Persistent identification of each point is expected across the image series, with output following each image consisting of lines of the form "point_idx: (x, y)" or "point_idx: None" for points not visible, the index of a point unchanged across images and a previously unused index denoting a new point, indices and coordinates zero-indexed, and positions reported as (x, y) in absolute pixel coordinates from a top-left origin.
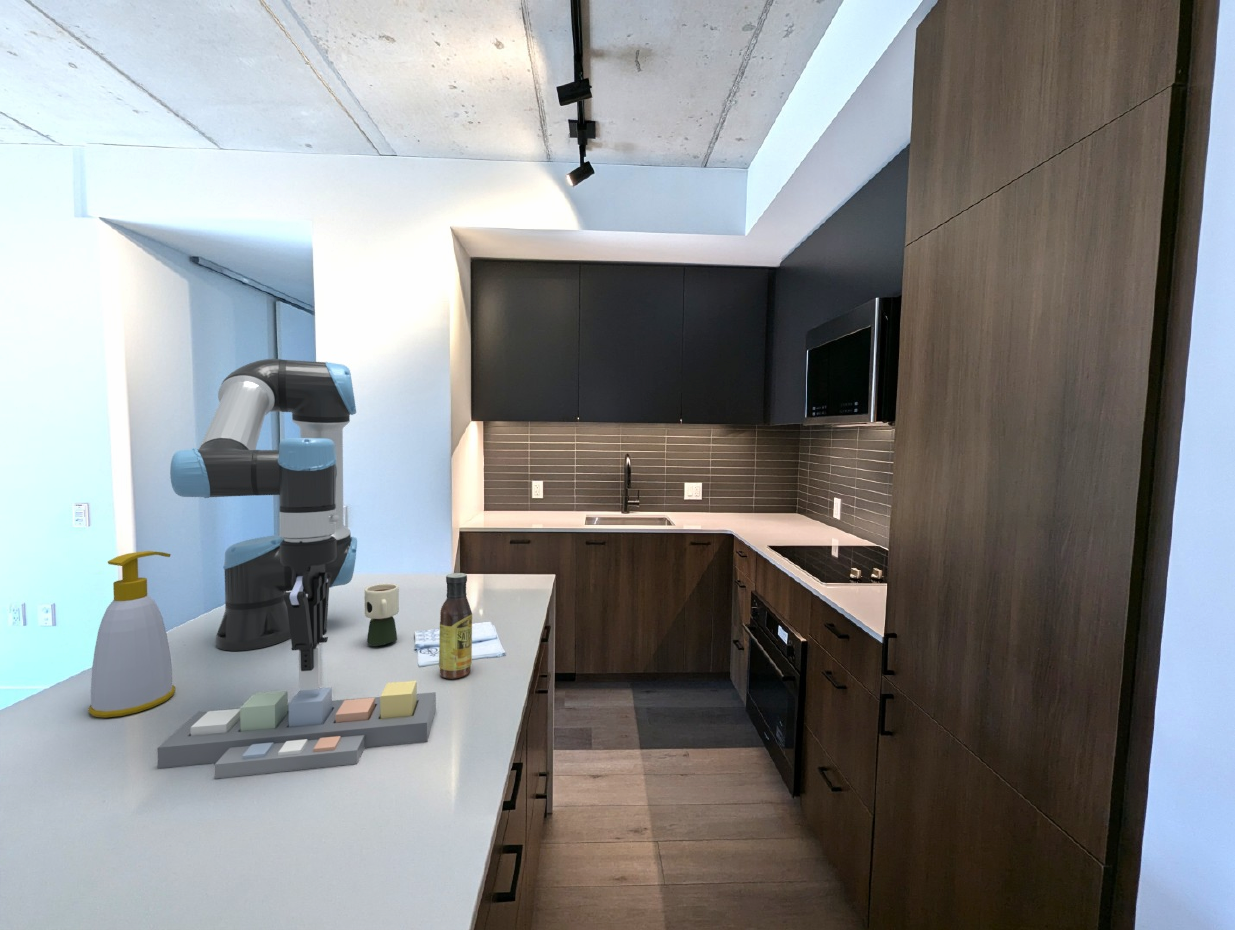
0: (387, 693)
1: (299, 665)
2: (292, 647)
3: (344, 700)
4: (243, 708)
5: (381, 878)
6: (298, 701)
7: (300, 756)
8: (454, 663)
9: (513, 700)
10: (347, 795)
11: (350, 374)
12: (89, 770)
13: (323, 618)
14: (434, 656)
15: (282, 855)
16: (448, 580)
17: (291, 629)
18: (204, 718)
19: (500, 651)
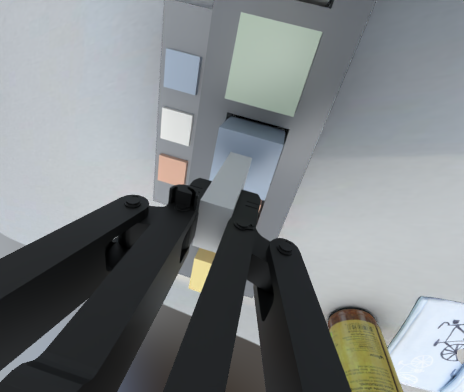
0: (200, 266)
1: (215, 176)
2: (118, 200)
3: (260, 205)
4: (239, 21)
5: (15, 196)
6: (223, 144)
7: (157, 137)
8: (332, 338)
9: (238, 334)
10: (107, 180)
11: None
12: None
13: (260, 331)
14: (442, 323)
15: (31, 126)
16: None
17: (36, 246)
18: None
19: None
